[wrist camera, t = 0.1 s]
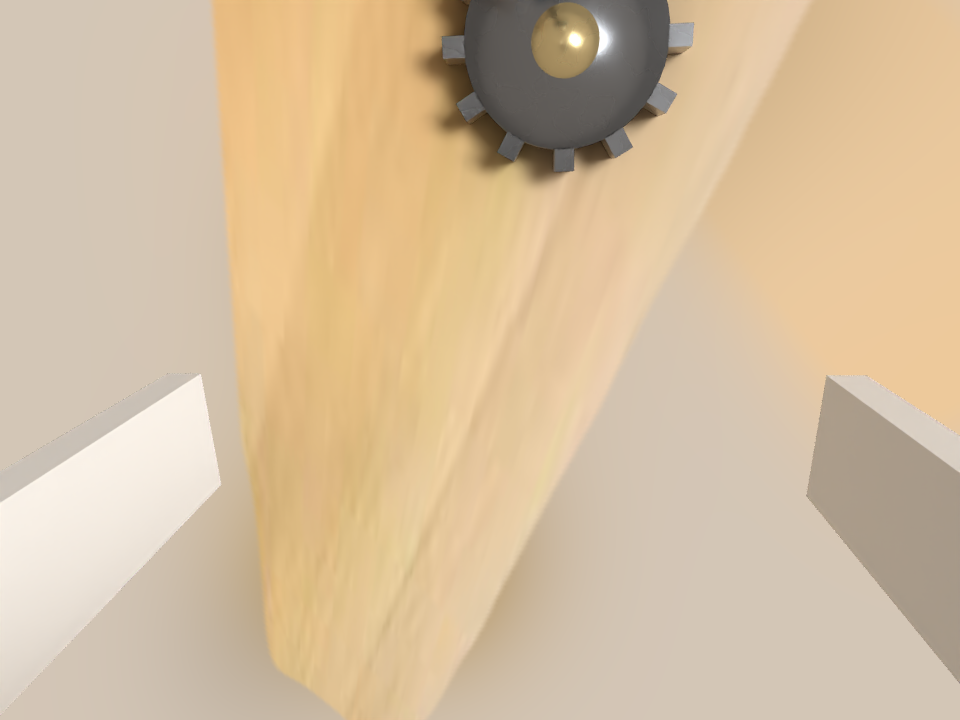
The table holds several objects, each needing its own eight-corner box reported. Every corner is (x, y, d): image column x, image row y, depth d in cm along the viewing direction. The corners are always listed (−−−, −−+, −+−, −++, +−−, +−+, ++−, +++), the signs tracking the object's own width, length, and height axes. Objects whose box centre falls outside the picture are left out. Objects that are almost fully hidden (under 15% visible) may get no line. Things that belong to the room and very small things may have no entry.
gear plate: (441, -81, 36) (435, -98, 33) (692, -99, 34) (703, -118, 32) (453, 174, 40) (448, 175, 38) (674, 166, 39) (683, 167, 37)
